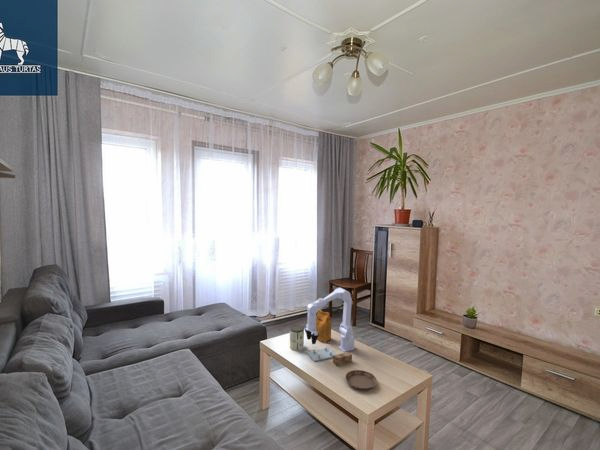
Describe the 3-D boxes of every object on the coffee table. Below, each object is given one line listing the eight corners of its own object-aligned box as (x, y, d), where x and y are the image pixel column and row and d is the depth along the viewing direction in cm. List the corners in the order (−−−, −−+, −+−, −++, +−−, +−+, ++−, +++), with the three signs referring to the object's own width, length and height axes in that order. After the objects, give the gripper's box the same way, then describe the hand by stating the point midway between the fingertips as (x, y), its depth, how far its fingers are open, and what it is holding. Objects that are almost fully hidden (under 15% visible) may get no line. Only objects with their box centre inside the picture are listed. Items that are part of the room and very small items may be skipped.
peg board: (329, 348, 201) (329, 344, 201) (338, 356, 190) (338, 351, 190) (306, 353, 194) (306, 348, 194) (314, 362, 183) (314, 356, 183)
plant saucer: (339, 383, 161) (339, 378, 161) (355, 371, 174) (355, 366, 174) (367, 397, 149) (367, 392, 149) (382, 383, 162) (382, 377, 162)
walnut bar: (348, 359, 188) (348, 352, 187) (351, 362, 184) (352, 354, 184) (332, 362, 183) (333, 355, 183) (336, 366, 179) (336, 358, 179)
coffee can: (293, 342, 210) (293, 324, 209) (305, 345, 205) (306, 326, 205) (287, 348, 200) (287, 329, 200) (300, 351, 196) (300, 332, 195)
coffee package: (321, 334, 225) (322, 307, 224) (332, 339, 216) (333, 311, 215) (312, 337, 219) (313, 309, 218) (323, 343, 209) (324, 314, 208)
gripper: (302, 318, 195) (301, 338, 195) (311, 326, 181) (310, 347, 182) (311, 317, 197) (310, 336, 198) (320, 325, 184) (320, 345, 185)
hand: (311, 341), depth 190 cm, fingers open, 7 cm apart
